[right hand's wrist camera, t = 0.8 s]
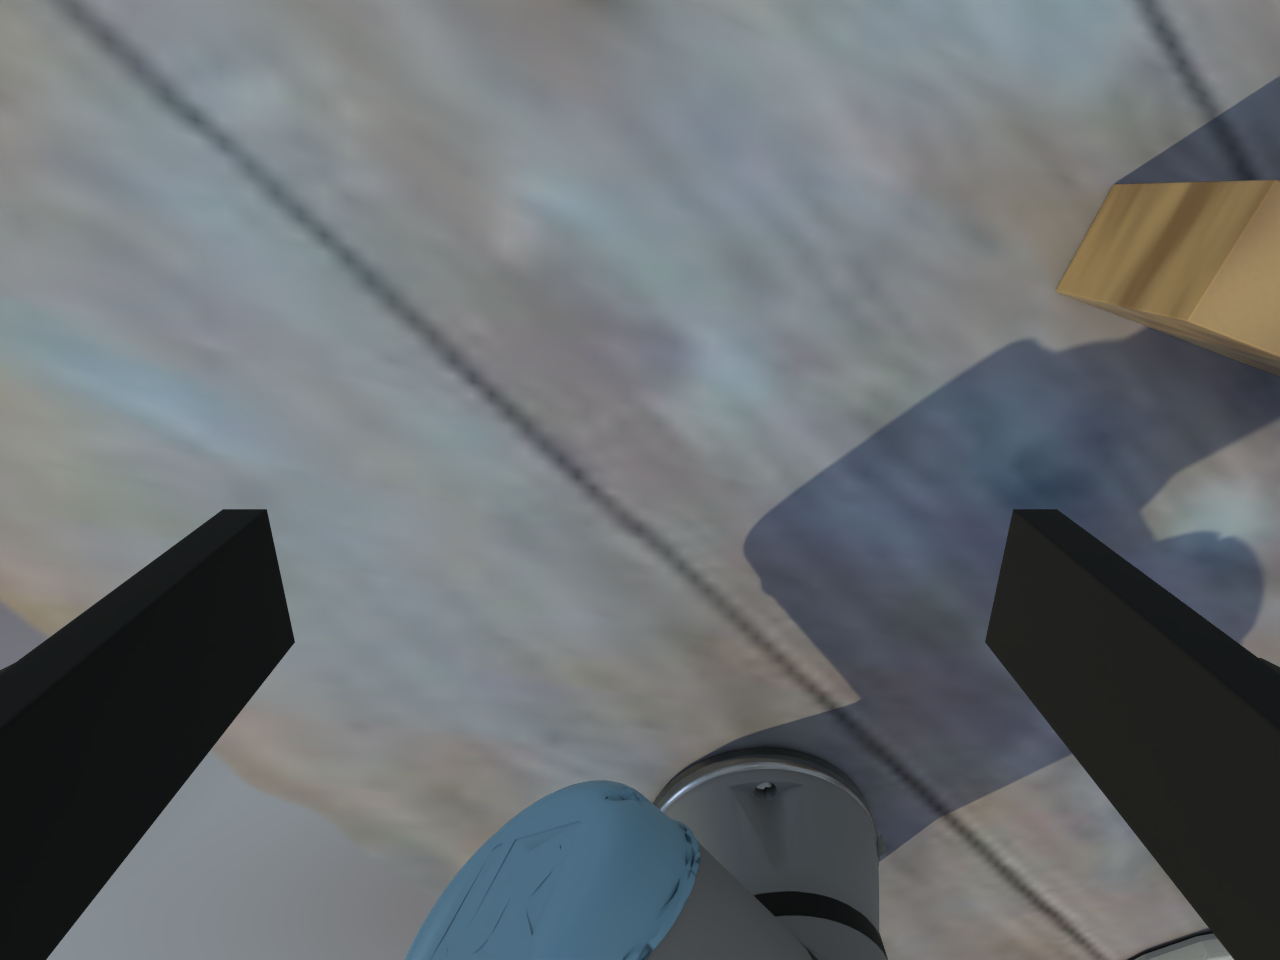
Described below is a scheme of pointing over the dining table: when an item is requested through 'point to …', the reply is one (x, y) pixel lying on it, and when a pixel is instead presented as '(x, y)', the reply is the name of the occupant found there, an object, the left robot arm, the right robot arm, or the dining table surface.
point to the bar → (1189, 264)
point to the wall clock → (1191, 950)
